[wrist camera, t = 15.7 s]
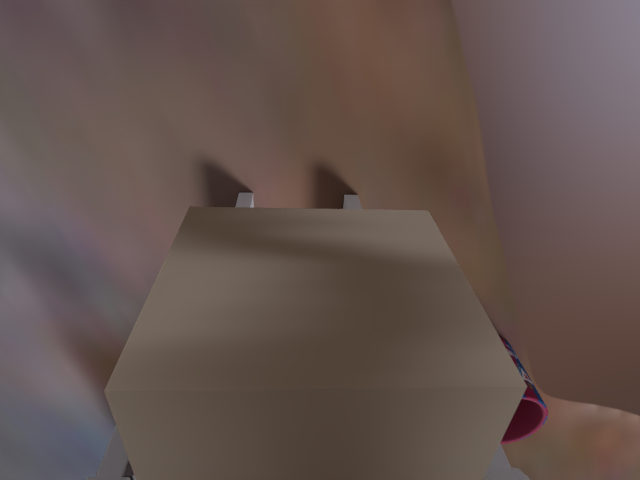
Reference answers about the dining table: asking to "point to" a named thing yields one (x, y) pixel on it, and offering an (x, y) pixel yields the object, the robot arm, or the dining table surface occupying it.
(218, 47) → the dining table surface
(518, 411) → the mug
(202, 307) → the block
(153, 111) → the dining table surface
